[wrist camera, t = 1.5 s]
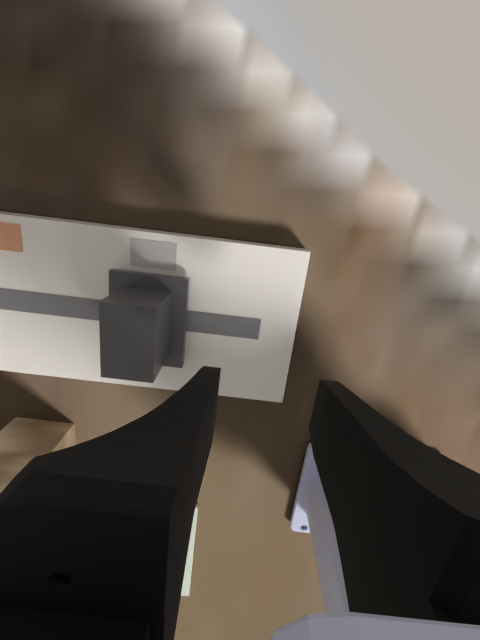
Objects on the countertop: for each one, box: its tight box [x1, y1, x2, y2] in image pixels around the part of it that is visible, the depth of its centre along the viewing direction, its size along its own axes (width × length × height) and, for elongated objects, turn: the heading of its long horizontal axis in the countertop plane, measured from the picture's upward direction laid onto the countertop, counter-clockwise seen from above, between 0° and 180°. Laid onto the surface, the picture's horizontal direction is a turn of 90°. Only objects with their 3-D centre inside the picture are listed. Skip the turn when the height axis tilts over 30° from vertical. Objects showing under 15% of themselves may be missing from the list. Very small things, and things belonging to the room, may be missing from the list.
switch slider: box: [99, 268, 190, 383], centre depth 16 cm, size 4×5×4 cm
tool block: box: [0, 417, 76, 493], centre depth 20 cm, size 4×4×6 cm
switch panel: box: [0, 211, 310, 403], centre depth 18 cm, size 21×9×2 cm, turn 83°
